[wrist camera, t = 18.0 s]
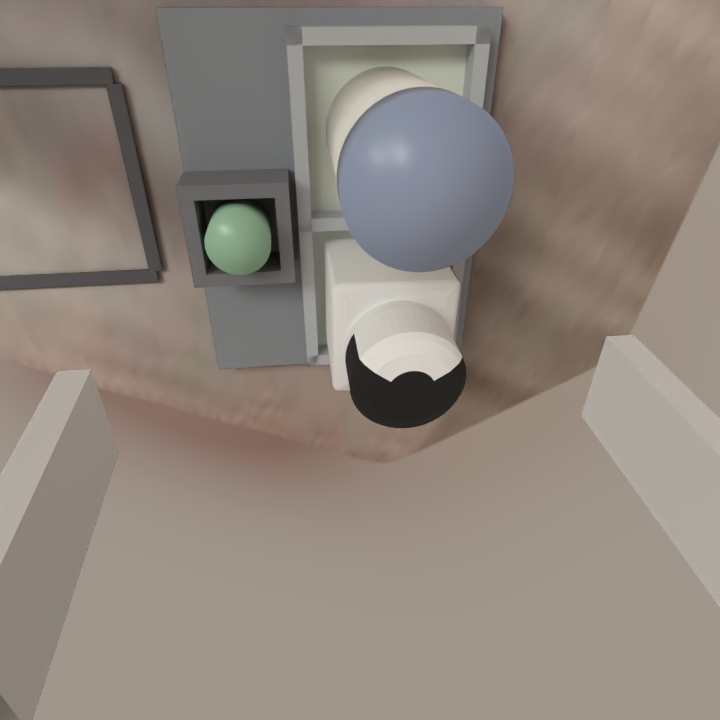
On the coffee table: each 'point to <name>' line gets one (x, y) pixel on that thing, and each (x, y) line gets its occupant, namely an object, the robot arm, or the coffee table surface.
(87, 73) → the frame
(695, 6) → the coffee table surface
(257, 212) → the button
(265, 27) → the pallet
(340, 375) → the medicine bottle
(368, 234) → the cream and blue canister
